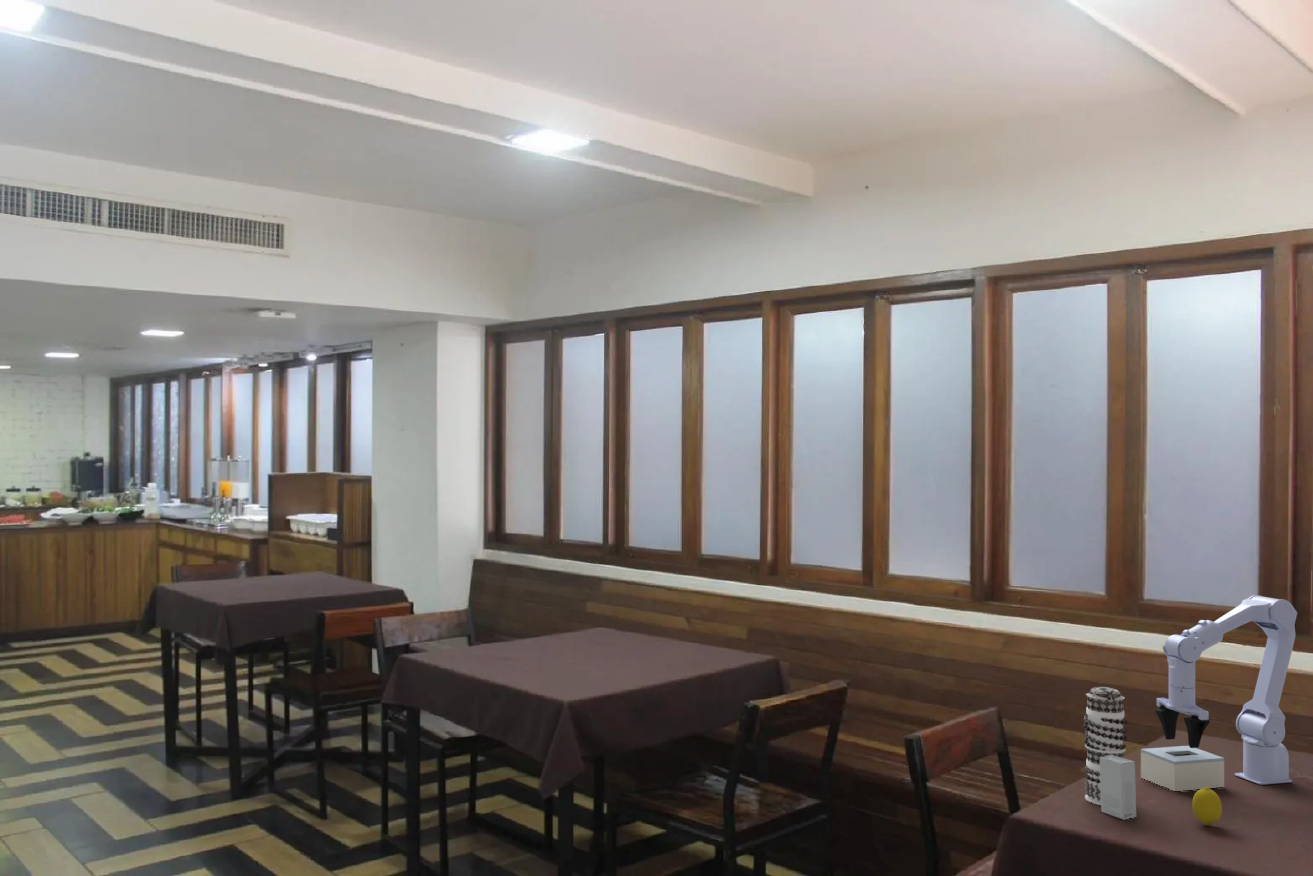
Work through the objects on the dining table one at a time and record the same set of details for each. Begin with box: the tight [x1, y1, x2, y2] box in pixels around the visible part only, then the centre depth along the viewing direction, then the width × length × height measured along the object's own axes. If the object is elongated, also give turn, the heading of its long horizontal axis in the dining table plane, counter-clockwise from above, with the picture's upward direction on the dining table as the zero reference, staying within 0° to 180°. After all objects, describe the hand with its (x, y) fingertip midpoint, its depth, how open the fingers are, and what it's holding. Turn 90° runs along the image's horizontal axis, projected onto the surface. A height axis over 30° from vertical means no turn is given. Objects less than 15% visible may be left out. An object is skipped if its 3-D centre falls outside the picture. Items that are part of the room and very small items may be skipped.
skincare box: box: [1100, 755, 1137, 821], centre depth 224 cm, size 6×4×12 cm
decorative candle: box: [1083, 686, 1129, 806], centre depth 234 cm, size 9×9×25 cm
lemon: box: [1191, 787, 1223, 827], centre depth 218 cm, size 6×6×8 cm
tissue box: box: [1140, 745, 1225, 792], centre depth 248 cm, size 14×11×7 cm
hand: (1181, 743), depth 248 cm, fingers open, 7 cm apart
